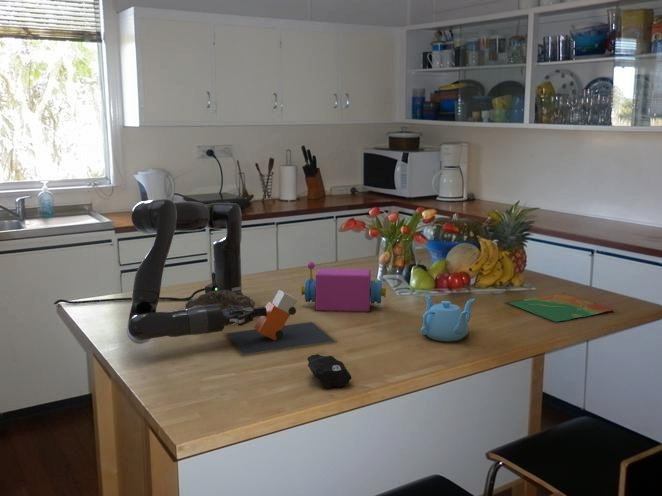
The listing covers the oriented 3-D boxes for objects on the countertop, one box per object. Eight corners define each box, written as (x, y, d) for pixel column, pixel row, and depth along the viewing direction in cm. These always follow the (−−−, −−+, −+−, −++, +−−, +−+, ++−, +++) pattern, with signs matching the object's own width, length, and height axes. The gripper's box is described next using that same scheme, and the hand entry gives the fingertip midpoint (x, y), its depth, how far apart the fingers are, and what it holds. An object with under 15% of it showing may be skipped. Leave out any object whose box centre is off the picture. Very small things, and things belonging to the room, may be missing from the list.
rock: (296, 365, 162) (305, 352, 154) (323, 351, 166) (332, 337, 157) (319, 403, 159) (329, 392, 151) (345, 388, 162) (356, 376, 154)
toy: (385, 304, 221) (386, 260, 218) (385, 312, 212) (385, 267, 210) (303, 302, 224) (303, 259, 221) (299, 310, 215) (299, 265, 212)
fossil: (252, 297, 214) (254, 278, 201) (258, 325, 210) (260, 307, 197) (183, 310, 209) (180, 291, 196) (188, 338, 205) (186, 321, 192)
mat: (243, 355, 175) (243, 353, 175) (227, 334, 192) (227, 333, 192) (334, 342, 185) (334, 340, 185) (311, 323, 202) (311, 322, 202)
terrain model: (563, 294, 233) (563, 292, 233) (614, 311, 213) (615, 309, 213) (507, 302, 223) (507, 301, 222) (555, 321, 203) (555, 319, 202)
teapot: (414, 341, 186) (415, 306, 184) (424, 324, 200) (425, 292, 198) (467, 346, 182) (468, 311, 180) (473, 329, 196) (475, 296, 194)
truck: (259, 333, 183) (282, 292, 183) (253, 327, 188) (276, 287, 188) (278, 342, 186) (301, 302, 186) (272, 336, 190) (295, 297, 191)
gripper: (208, 312, 172) (272, 304, 179) (198, 300, 184) (258, 292, 191) (210, 340, 173) (273, 330, 180) (200, 325, 185) (259, 317, 192)
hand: (265, 310), depth 185 cm, fingers closed
